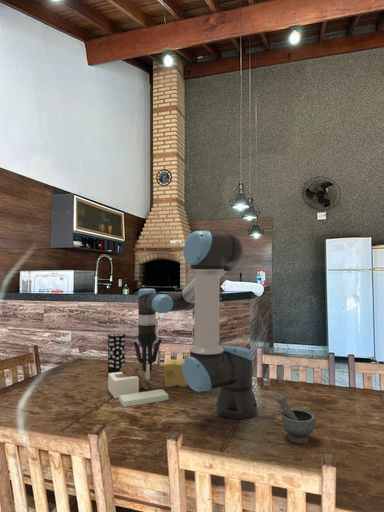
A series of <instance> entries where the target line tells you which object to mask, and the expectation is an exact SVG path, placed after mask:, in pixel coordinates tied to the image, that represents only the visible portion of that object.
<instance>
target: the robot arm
mask: <svg viewBox="0 0 384 512" xmlns="http://www.w3.org/2000/svg"><path fill="white" fill-rule="evenodd" d="M243 255H244V246H243V243H242V241H241V239H240V238H239V237H238V236H237V235H235V234H234V233H230V232H222V231H211V230H196V231H193V232H191V233H190V234H189V235H188V237H187V238H186V240H185V242H184V245H183V258H184V260H185V263H187V264H188V265H190V267H189V269H190V271H191V272H192V274H194V277H193V278H192V280H191V281H190V282H189V283H188V284H187V285H186V286H185V287H184V288H183V289H182V290H181V291H180V292H177V293H156V289H155V288H139V290H138V296H137V300H138V302H137V305H138V307H137V308H138V319H137V320H138V321H137V322H138V327H137V328H138V329H137V332H138V333H137V334H138V335H137V337H136V339H135V340H132V344H133V346H134V350H135V353H136V357H137V358H136V359H137V362H138V363H139V364H141V365H142V367H141V369H142V371H143V373H144V379H146V380H147V381H148V380H150V379H151V377H150V376H151V375H150V374H151V373H150V372H151V371H152V370H153V363H155V362H156V361H157V357H158V352H159V350H160V349H159V348H160V344H161V343H162V339H161V338H158V336H157V334H156V333H157V332H156V329H157V326H156V322H157V321H156V316H157V315H156V313H159V314H167V313H169V312H181V311H191V310H194V322H193V323H194V327H193V328H194V329H193V331H194V335H193V336H194V341H193V345H192V346H191V347H190V349H189V356H188V357H185V358H184V359H185V360H184V362H183V374H184V378H185V380H186V382H187V384H188V386H189V388H190V389H192V390H193V391H195V392H198V393H200V392H208V391H211V390H213V389H219V388H220V389H219V392H218V395H217V399H216V402H215V412H216V413H217V415H219V416H221V417H224V418H227V419H231V420H232V419H233V420H243V419H250V418H253V417H255V416H256V415H257V414H258V408H259V407H258V402H257V399H256V397H255V394H254V391H253V360H254V359H253V354H252V351H251V349H249V348H247V347H243V346H236V345H226V344H225V345H220V286H221V285H220V279H221V278H222V277H223V276H224V275H225V274H226V273H227V272H228V273H229V272H232V271H233V270H234V269H235V268H236V267H237V266H238V265H239V264H240V262H241V260H242V259H243ZM154 342H155V343H154ZM139 344H140V345H141V351H140V346H139ZM153 345H154V348H153Z"/></svg>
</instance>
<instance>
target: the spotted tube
mask: <svg viewBox="0 0 384 512" xmlns="http://www.w3.org/2000/svg"><path fill="white" fill-rule="evenodd" d="M124 364H125V365H126V334H125V333H121V332H120V333H119V332H118V333H109V334H107V374H108V373H115V372H121V371H120V369H121V367H122V366H123V365H124Z"/></svg>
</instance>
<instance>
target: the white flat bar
mask: <svg viewBox="0 0 384 512" xmlns="http://www.w3.org/2000/svg"><path fill="white" fill-rule="evenodd" d="M162 401H169V394H168V392H166V391H165V390H164V389H163V388H162V389H155V390H154V389H153V390H148V391H147V390H146V391H141V392H140V391H139V393H133V394H126V395H120V396H119V398H118V402H119V403H120V404H121V405H122V407H123V408H126V407H132V406H138V405H145V404H151V403H157V402H158V403H159V402H162Z"/></svg>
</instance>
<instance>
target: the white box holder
mask: <svg viewBox="0 0 384 512" xmlns="http://www.w3.org/2000/svg"><path fill="white" fill-rule="evenodd" d="M107 379H108V380H107V381H108V382H107V388H108V389H107V390H108V391H109V393H110V394H111V396H112V397H113V398H114V399H119V396H120V395H126V394H133V393H140V390H139V389H140V385H139V377H137V376H130V377H128V376H126V375H125V374H123V373H122V372H115V373H108V372H107Z"/></svg>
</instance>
